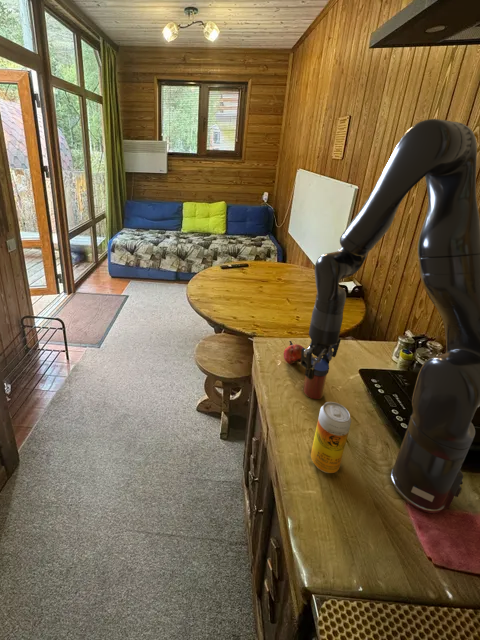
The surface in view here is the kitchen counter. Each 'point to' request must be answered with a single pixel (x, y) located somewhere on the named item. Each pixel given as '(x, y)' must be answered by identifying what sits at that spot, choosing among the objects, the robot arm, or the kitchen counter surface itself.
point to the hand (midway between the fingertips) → (316, 373)
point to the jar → (315, 386)
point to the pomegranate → (293, 353)
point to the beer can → (330, 437)
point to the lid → (321, 368)
